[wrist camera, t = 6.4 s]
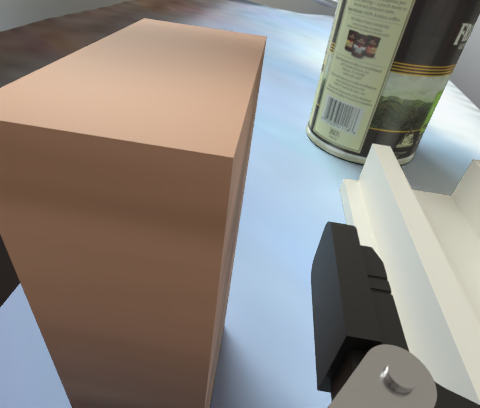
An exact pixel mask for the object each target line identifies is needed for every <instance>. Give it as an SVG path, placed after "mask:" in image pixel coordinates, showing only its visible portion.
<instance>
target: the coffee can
mask: <svg viewBox="0 0 480 408" xmlns="http://www.w3.org/2000/svg"><path fill="white" fill-rule="evenodd" d="M479 14H480V0H338V4H337V8H336V13H335V17H334V21H333V25H332V29H331V33H330V37H329V41H328V45H327V49H326V53H325V57H324V61H323V66H322V70H321V74H320V78H319V82H318V86H317V90H316V94H315V98H314V103H313V107H312V111H311V115H310V119H309V122H308V124H307V127H306V132H307V135H308V137H309V138H310V139H311V141H312V142H313V143H315V145H317V146H319V147H320V148H322V149H323V150H325V151H327V152H328V153H330V154H332V155H335V156H337V157H340V158H342V159H345V160H348V161H351V162H355V163H360V164H365V162H366V159H367V156H368V154H369V151H370V149H371V146H372V144H379V145H385V146H390V147H391V149H392V151H393V153H394V155H395V157H396V159H397V161H398V163H399V165H403V164H406V163H408V162H409V161H411V160H412V159H413V157H414V155H415V151H416V149H417V147H418V144H419V142H420V140H421V138H422V135H423V133H424V131H425V129H426V127H427V125H428V123H429V121H430V118H431V116H432V114H433V112H434V110H435V108H436V106H437V103H438V101H439V99H440V97H441V95H442V93H443V91H444V89H445V86H446V84H447V82H448V80H449V78H450V76H451V74H452V72H453V69H454V67H455V65H456V63H457V61H458V59H459V56H460V55H461V53H462V51H463V48H464V46H465V44H466V42H467V40H468V38H469V36H470V34H471V32H472V29H473V27H474V25H475V23H476V21H477V19H478V16H479Z"/></svg>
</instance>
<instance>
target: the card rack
mask: <svg viewBox="0 0 480 408" xmlns="http://www.w3.org/2000/svg"><path fill="white" fill-rule="evenodd" d="M340 194H341V199H342V204H343V209H344V214H345V219H346V224H347V225H353V226H355V227H356V228H357V232H358V237H359V241H360V245H363V246H369V247H372V248H373V249H374V251H375V252H376V253H377V255H378V256H379V257H380V259H381V260H382V261H383V263H384V267H385V270H386V274H387V277H388V279H387V281H389V284H390V287H391V291H392V292H391V295H393V298H394V301H395V305H396V308H397V312H398V315H399V318H400V322H401V325H402V329H403V332H404V336H405V339H406V342H407V346H408V349H409V351H410V353H411V354H413V355H414V356H415V357H417V358H418V359H419V360H420V361H421V362H422V363H423V364H424V365H425V367H426V368H427V369H428V370H429V372H430V374H431V375H432V377H433V380H434V381H435V382H436V383H438V384H439V385H441V386H443V387H444V388H446V389H448V390H450V391H452V392H454V393H456V394H458V395H461V396H463V397H465V398H467V399H469V400H471V401H473V402H475V403H477V404H479V405H480V160H474V159H473V160H472V162H471V164H470V165H469V167H468V169H467V170H466V172H465V174H464V175H463V177H462V179H461V180H460V182H459V184H458V185H457V187H456V189H455V190H454V192H453V194H452V195H451V196H450V195H444V194H438V193H431V192H425V191H419V190H413V189H411V187H410V185H409V183H408V181H407V179H406V177H405V175H404V173H403V171H402V169H401V167H400V165H399V163H398V161H397V159H396V157H395V155H394V153H393V151H392V149H391V147H390V146H385V145H379V144H372V146H371V149H370V151H369V154H368V156H367V159H366V162H365V164H364V167H363V169H362V172H361V175H360V177H359V180H358V181H356V180H350V179H343V182H342V184H341V187H340Z"/></svg>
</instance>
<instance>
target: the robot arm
mask: <svg viewBox="0 0 480 408" xmlns="http://www.w3.org/2000/svg"><path fill="white" fill-rule="evenodd" d="M387 279H388V277H387V274H386V270H385V267H384V263H383V261H382V260H381V259H380V257H379V256H378V255H377V253H376V252H375V251H374V249H373V248H372V247H369V246H363V245H360V241H359V237H358V232H357V228H356V227H355V226H353V225H347V224H341V223H335V222H327V224H326V226H325V228H324V231H323V234H322V237H321V240H320V243H319V246H318V248H317V251H316V254H315V257H314V260H313V264H312V271H311V288H312V305H313V322H314V339H315V356H316V373H317V390H319V391H325V392H331V398H332V402H331V404H330V405H329V406H328V408H480V405H479V404H477V403H475V402H473V401H471V400H469V399H467V398H465V397H463V396H461V395H458V394H456V393H454V392H452V391H450V390H448V389H446V388H444V387H443V386H441V385H439V384H438V383H436V382H435V381H434V380H433V377H432V375H431V374H430V372H429V370H428V369H427V368H426V367H425V365H424V364H423V363H422V362H421V361H420V360H419V359H418V358H417V357H415V356H414V355H413V354H411V353H410V351H409V349H408V346H407V342H406V339H405V336H404V332H403V329H402V325H401V322H400V318H399V315H398V312H397V308H396V305H395V301H394V298H393V295H391V292H392V291H391V287H390V284H389V281H387ZM19 284H20V280H19V278H18V276H17V273H16V271H15V268H14V266H13V264H12V261H11V259H10V256H9V254H8V251H7V249H6V247H5V244H4V242H3V239H2V237H1V235H0V307H1V306H2V305H3V303H4V302H5V301H6V300H7V298H8V297H9V296H10V295H11V293H12V292H13V291H14V290H15V289H16V287H17V286H18V285H19Z"/></svg>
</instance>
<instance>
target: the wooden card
mask: <svg viewBox="0 0 480 408" xmlns="http://www.w3.org/2000/svg"><path fill="white" fill-rule="evenodd" d="M266 38H267V37H265V36H258V35H252V34H245V33H238V32H232V31H225V30H218V29H212V28H205V27H198V26H192V25H185V24H178V23H172V22H165V21H158V20H152V19H145V18H144V19H142V20H140V21H138V22H136V23H134V24H132V25H130V26H128V27H126V28H124V29H122V30H120V31H118V32H115V33H113V34H111V35H109V36H107V37H105V38H103V39H101V40H99V41H97V42H95V43H93V44H91V45H89V46H86V47H84V48H82V49H80V50H78V51H76V52H74V53H72V54H70V55H68V56H66V57H64V58H62V59H60V60H58V61H55V62H53V63H51V64H49V65H47V66H45V67H43V68H41V69H39V70H37V71H35V72H33V73H31V74H29V75H26V76H24V77H22V78H20V79H18V80H16V81H14V82H12V83H10V84H8V85H6V86H4V87H2V88H0V235H1V237H2V239H3V242H4V244H5V247H6V249H7V251H8V254H9V256H10V259H11V261H12V264H13V266H14V268H15V271H16V273H17V276H18V278H19V280H20V283H21V285H22V288H23V290H24V293H25V295H26V297H27V300H28V302H29V305H30V307H31V309H32V312H33V314H34V317H35V319H36V322H37V324H38V326H39V329H40V331H41V334H42V336H43V338H44V341H45V343H46V346H47V348H48V351H49V353H50V355H51V358H52V360H53V363H54V365H55V367H56V370H57V372H58V375H59V377H60V379H61V382H62V384H63V387H64V389H65V392H66V394H67V396H68V399H69V401H70V404H71V406H72V408H210V403H211V397H212V392H213V386H214V380H215V375H216V369H217V363H218V358H219V352H220V346H221V341H222V335H223V329H224V323H225V317H226V310H227V303H228V296H229V289H230V283H231V276H232V269H233V262H234V255H235V249H236V242H237V235H238V228H239V221H240V215H241V208H242V201H243V194H244V188H245V181H246V174H247V167H248V160H249V154H250V147H251V140H252V133H253V126H254V120H255V113H256V106H257V99H258V92H259V86H260V79H261V72H262V65H263V58H264V52H265V45H266Z"/></svg>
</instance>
